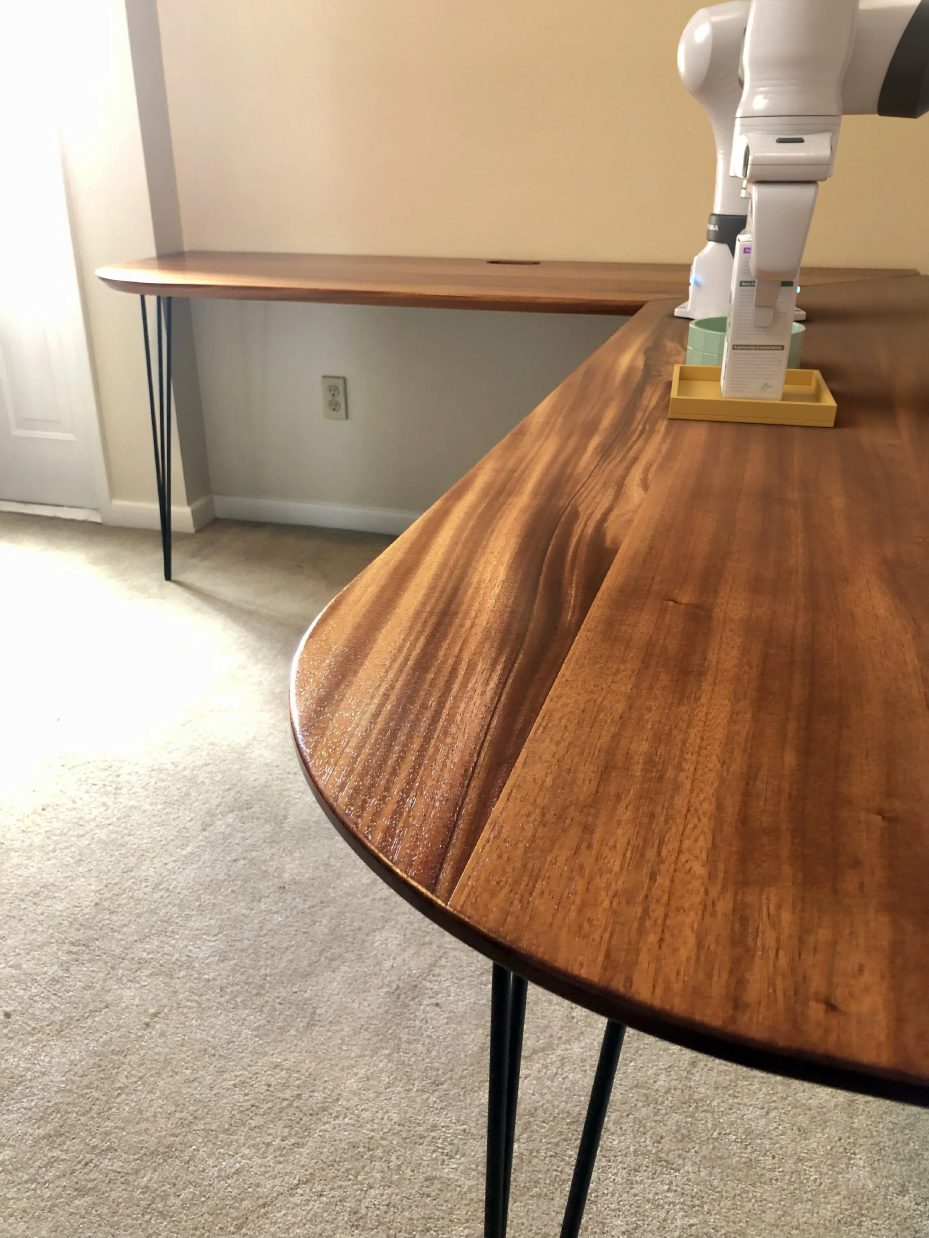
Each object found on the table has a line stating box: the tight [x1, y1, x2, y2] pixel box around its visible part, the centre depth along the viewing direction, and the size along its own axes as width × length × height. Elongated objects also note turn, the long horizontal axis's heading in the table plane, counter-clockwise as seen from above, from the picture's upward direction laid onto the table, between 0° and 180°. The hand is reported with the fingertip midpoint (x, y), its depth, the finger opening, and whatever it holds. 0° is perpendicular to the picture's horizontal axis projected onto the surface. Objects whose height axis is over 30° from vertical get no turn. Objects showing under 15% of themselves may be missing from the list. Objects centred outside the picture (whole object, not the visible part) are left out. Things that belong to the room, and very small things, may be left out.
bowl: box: [684, 316, 807, 369], centre depth 100 cm, size 12×12×5 cm
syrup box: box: [720, 234, 802, 401], centre depth 84 cm, size 6×6×14 cm
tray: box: [667, 363, 838, 428], centre depth 88 cm, size 15×15×2 cm
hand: (758, 319), depth 84 cm, fingers closed on syrup box, 6 cm apart
